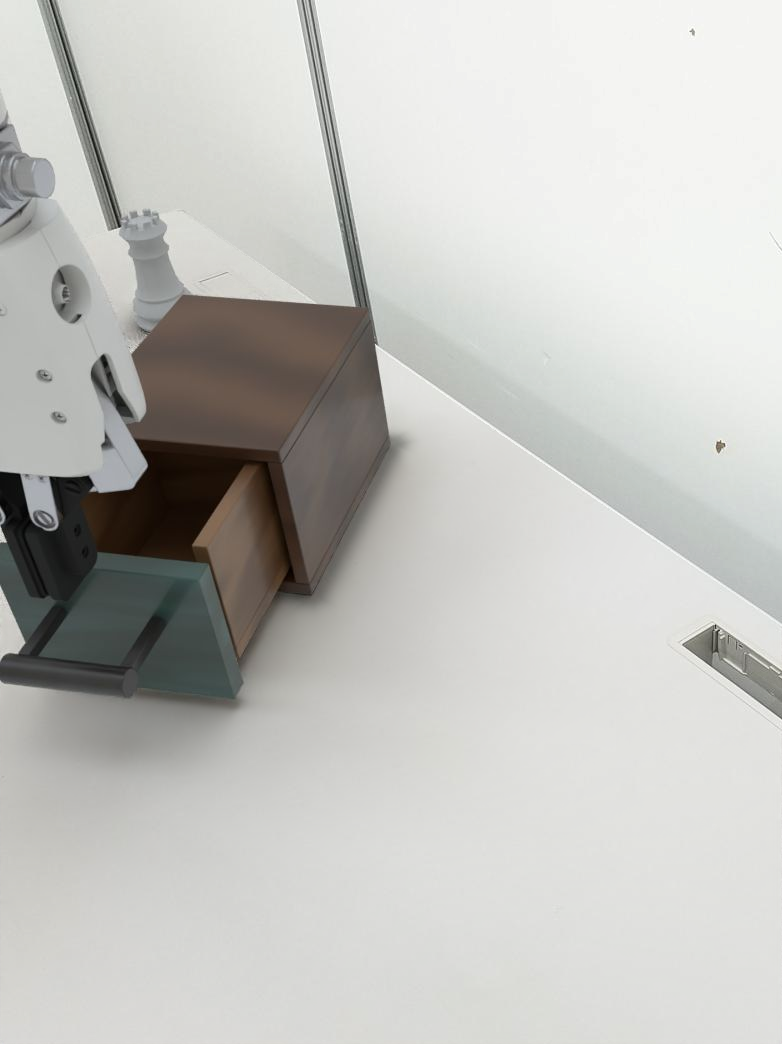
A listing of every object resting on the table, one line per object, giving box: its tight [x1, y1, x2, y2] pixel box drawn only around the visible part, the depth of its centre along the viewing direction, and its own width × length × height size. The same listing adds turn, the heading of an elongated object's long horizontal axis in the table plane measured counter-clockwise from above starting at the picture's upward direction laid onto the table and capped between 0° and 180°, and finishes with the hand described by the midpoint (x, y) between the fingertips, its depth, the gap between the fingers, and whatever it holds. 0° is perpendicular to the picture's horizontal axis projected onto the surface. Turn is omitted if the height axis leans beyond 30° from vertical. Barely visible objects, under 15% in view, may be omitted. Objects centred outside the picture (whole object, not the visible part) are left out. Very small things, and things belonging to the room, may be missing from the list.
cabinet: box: [125, 294, 391, 596], centre depth 72 cm, size 15×12×10 cm
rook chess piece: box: [118, 208, 193, 333], centre depth 90 cm, size 4×4×8 cm
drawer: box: [0, 450, 292, 700], centre depth 64 cm, size 18×10×8 cm, turn 170°
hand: (65, 578), depth 56 cm, fingers closed
